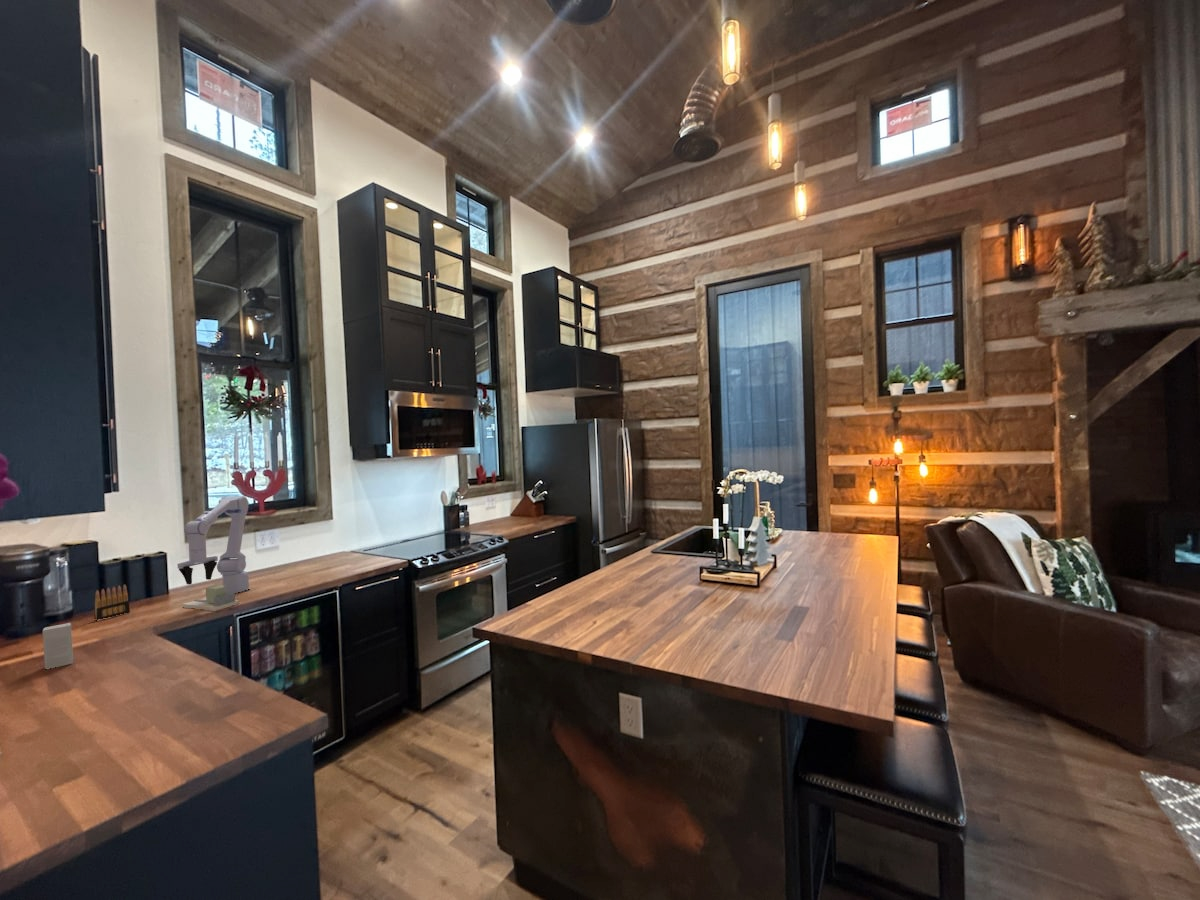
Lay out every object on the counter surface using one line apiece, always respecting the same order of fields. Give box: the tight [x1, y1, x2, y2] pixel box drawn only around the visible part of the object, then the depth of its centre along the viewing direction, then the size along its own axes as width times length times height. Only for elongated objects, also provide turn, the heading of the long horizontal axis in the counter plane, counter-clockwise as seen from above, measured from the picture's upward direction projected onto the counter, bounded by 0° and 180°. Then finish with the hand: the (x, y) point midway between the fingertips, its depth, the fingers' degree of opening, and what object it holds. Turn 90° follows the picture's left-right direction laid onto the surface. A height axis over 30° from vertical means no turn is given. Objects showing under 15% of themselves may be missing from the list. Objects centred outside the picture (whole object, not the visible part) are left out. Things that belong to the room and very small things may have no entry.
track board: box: [182, 597, 240, 612], centre depth 218 cm, size 10×20×2 cm, turn 69°
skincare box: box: [42, 622, 74, 670], centre depth 159 cm, size 6×4×12 cm
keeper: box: [205, 585, 226, 603], centre depth 216 cm, size 4×6×6 cm, turn 69°
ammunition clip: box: [93, 583, 131, 620], centre depth 207 cm, size 11×2×12 cm, turn 159°
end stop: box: [213, 593, 236, 606], centre depth 215 cm, size 7×2×4 cm, turn 159°
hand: (199, 581), depth 217 cm, fingers open, 7 cm apart
